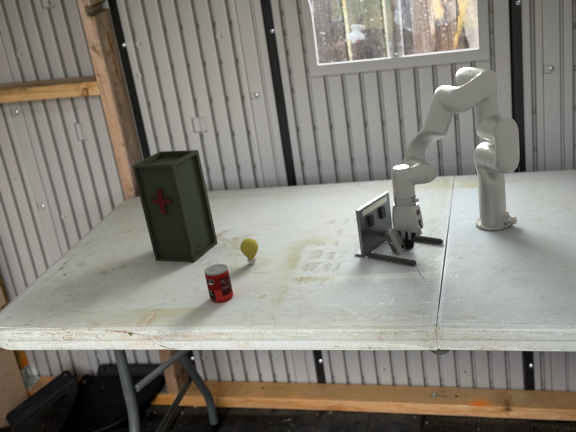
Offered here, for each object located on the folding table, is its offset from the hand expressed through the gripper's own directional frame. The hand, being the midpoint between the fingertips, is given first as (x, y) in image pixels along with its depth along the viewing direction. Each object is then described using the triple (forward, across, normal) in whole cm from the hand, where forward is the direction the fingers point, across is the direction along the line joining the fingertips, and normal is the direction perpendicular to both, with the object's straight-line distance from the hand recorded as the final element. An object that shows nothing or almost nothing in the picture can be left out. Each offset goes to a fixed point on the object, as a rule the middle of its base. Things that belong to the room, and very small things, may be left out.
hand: (409, 248), depth 235 cm
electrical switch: (+1, +4, 0) cm, 4 cm away
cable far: (+1, +2, -10) cm, 10 cm away
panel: (+1, +14, 0) cm, 14 cm away
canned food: (+2, +41, +55) cm, 69 cm away
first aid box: (+2, +85, +32) cm, 91 cm away
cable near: (+1, +2, +10) cm, 10 cm away
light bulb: (+2, +50, +30) cm, 58 cm away
